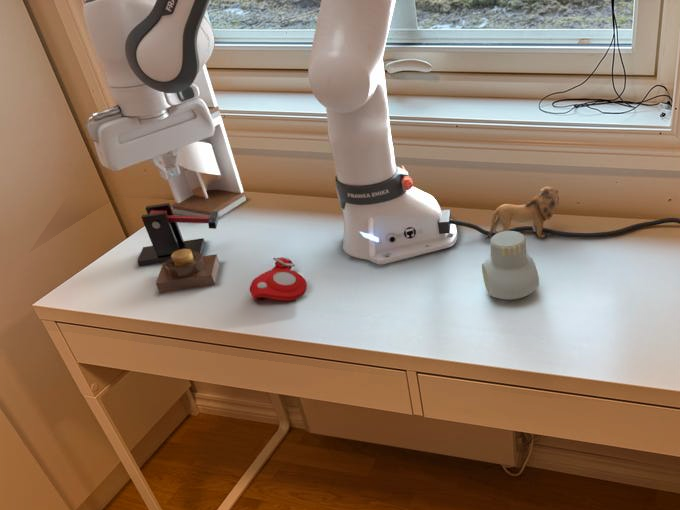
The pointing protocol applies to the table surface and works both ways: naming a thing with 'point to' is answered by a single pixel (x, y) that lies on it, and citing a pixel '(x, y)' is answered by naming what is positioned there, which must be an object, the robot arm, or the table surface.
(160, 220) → the black lever base
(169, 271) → the block
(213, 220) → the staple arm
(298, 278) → the tracker holder
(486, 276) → the air freshener
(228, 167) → the display case
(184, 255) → the bell button
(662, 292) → the table surface
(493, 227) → the lion figurine
